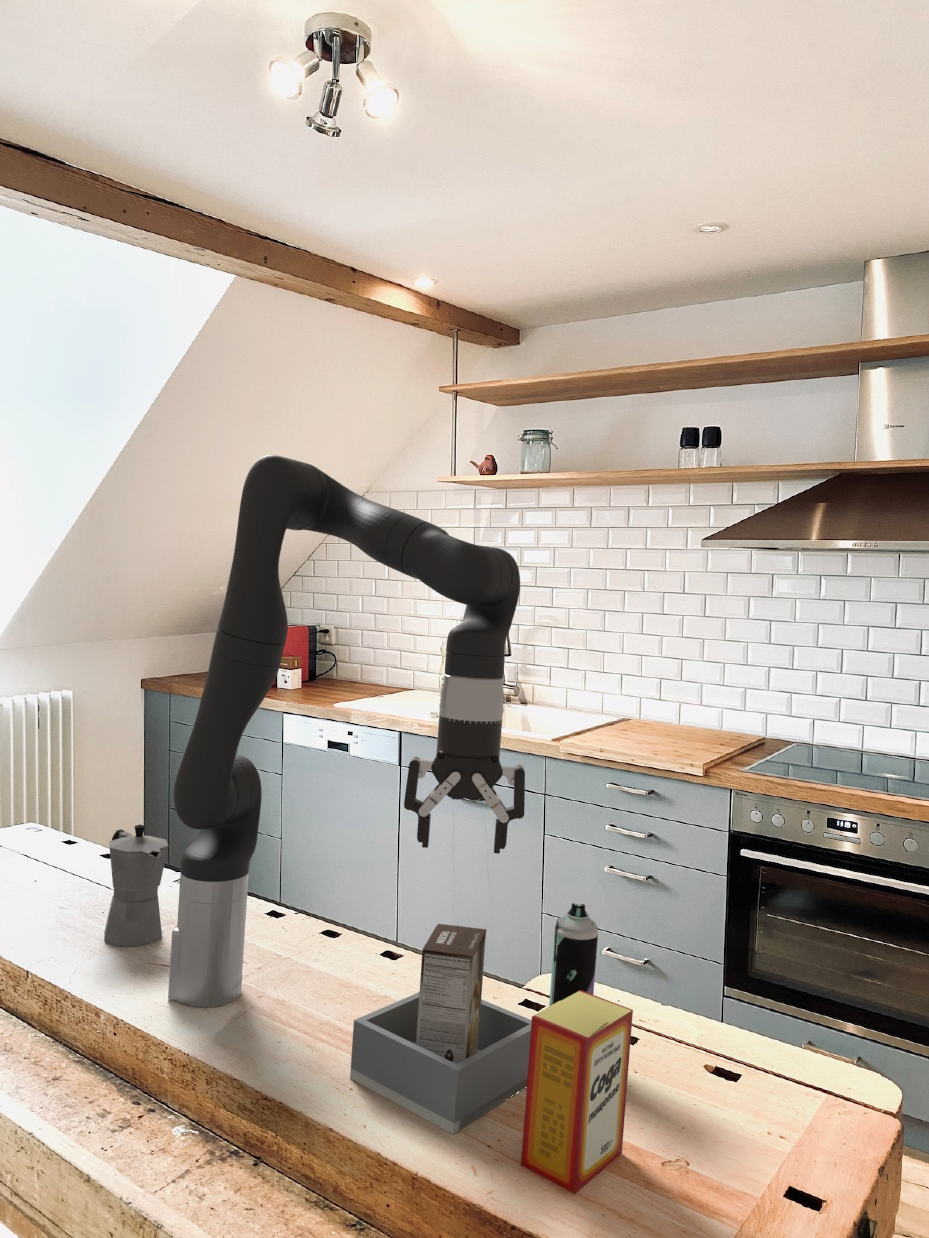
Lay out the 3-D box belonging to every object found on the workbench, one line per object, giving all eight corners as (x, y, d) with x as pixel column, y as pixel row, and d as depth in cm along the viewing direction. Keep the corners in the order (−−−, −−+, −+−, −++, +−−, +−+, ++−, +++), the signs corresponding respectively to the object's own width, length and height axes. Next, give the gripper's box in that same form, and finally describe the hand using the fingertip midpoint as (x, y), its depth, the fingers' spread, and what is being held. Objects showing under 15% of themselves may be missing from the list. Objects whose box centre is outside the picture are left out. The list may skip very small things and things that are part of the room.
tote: (349, 1077, 112) (353, 1019, 112) (437, 1034, 125) (441, 982, 125) (453, 1133, 102) (457, 1070, 102) (537, 1080, 115) (541, 1024, 114)
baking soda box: (569, 1128, 105) (580, 986, 105) (621, 1153, 101) (633, 1006, 100) (520, 1165, 98) (532, 1012, 97) (574, 1193, 94) (586, 1035, 93)
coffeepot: (180, 943, 149) (187, 830, 149) (122, 956, 143) (129, 838, 142) (137, 914, 160) (143, 809, 160) (81, 925, 154) (87, 815, 153)
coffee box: (428, 1047, 119) (437, 921, 118) (478, 1055, 118) (487, 927, 117) (411, 1084, 110) (421, 947, 109) (465, 1092, 109) (475, 955, 108)
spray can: (560, 1072, 117) (572, 913, 117) (537, 1051, 122) (548, 898, 121) (596, 1064, 120) (608, 909, 119) (572, 1044, 125) (583, 895, 124)
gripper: (408, 713, 109) (398, 853, 109) (532, 722, 108) (522, 862, 109) (413, 705, 116) (404, 836, 117) (529, 714, 116) (519, 845, 116)
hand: (461, 848), depth 113 cm, fingers open, 8 cm apart
